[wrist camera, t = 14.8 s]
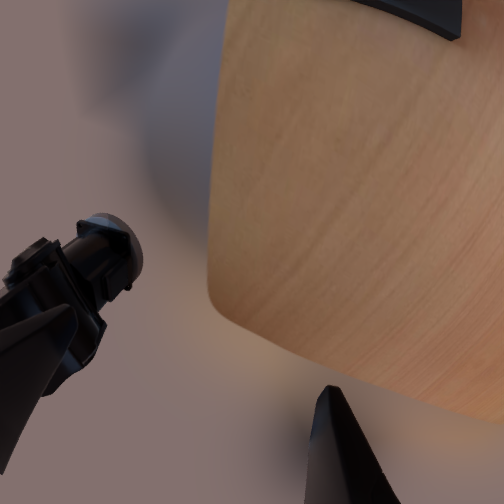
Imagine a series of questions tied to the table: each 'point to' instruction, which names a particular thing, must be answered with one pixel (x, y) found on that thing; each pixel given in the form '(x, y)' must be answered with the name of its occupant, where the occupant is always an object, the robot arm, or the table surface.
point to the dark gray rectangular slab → (426, 14)
